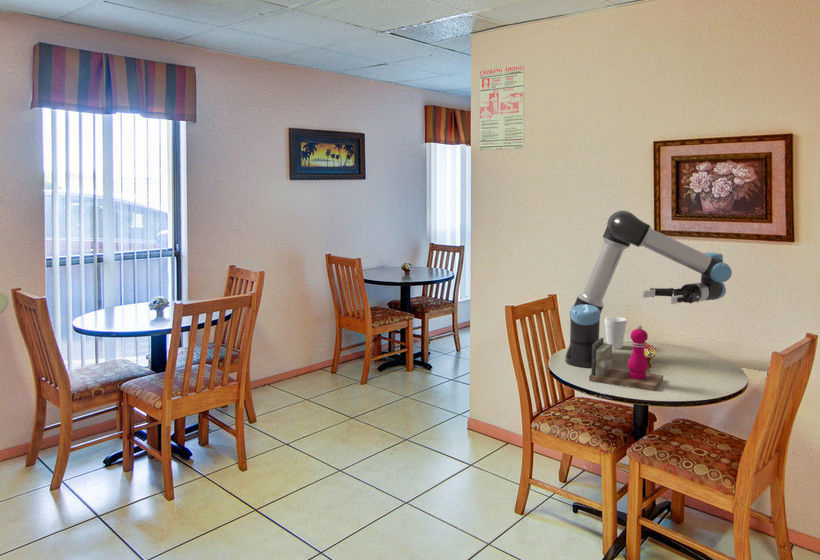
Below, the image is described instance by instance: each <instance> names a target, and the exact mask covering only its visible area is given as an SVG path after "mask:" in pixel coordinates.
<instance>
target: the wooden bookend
mask: <svg viewBox="0 0 820 560" xmlns="http://www.w3.org/2000/svg"><path fill="white" fill-rule="evenodd" d="M604 340H605V338H604V337H599V340H598V341H596V342H595V343H594V344H593V345H592V367H591V371H590V374H589V377H588V378H589V379H588V381H590V382H594V383H595V382H596V383H600V384H608V385H613V384H615V385H614V386H620V385H622V386H621V387H626V386H629V387H628V388H633V387H634V388H633V389H639V388H640V389H639V390H646V391H647V390H648V391H652V392H654V391H655V392H656V391H657V389H658V388H659V387H660V386H661V384H662V382H664V375H663V374H657V373H651V372H650V373H649V372H646V378H645V379H632V378H630V377H629V376H628V375H629V371H630V370H629V369H621V368H614V367H612V366H613V365H612V363H613V359H612V357H613V349H612V344H607V342H606V343H604V342H605V341H604Z"/></svg>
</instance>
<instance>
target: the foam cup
mask: <svg viewBox="0 0 820 560" xmlns="http://www.w3.org/2000/svg"><path fill="white" fill-rule="evenodd" d="M627 325H628V320H627V318H626V317H620V316H619V317H618V316H608V317H605V318H604V327H605V337H606V338H605V339H606V344H612V350H621V349H622V348H623V345H624V339H625V333H626V328H627Z"/></svg>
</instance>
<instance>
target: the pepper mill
mask: <svg viewBox="0 0 820 560" xmlns="http://www.w3.org/2000/svg"><path fill="white" fill-rule="evenodd" d="M648 336H649V335H648V332H647V331H646V330H644V329H643V327H642V325H640V324H639V325H637V326H636V328H635V329H633V330H632V331H631V332H630V339H631V340H632V341H631V346H632V352H631V354H630V357H629V359H628V361H627V368H628V370H630V371H629V375H628V376H629V377H630V378H632V379H645V378H646V373H647V372H646V371H647V370H648V368H649V364H648V360H647V358H646V355H645V348H646V345H647V342H646V341H647V340H648Z"/></svg>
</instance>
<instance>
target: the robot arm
mask: <svg viewBox="0 0 820 560" xmlns="http://www.w3.org/2000/svg"><path fill="white" fill-rule="evenodd" d="M606 224H607V225H606V227H605V231H603V232H604V233H603V236H602V240H603V245H602V247H601V249H600V252H599V254H598V256H597V259H596V261H595V263H594V266H593V268H592V270H591V273H590V276H589V277H588V280H587V282H586V285H585V288H584V290H583V292H582V293H581V294H579V295H577V297H576V300H575V302H574V304H573V305H572V307H571V309H570V311H569V319H570V320H569V321H570V324H569V325H570V327H569V329H570V330H569V333H570V334H569V335H570V337H569V345H568V348H567V351H566V354H565V361H564V362H566V364H568V365H571V366H573V365H574V367H580V368H581V367H582V368H592V345H593V344H594V343H595V342H596V341H598V340H599V339H600V324H601V323H600V322H601V320H600V319H601V314H602V311H603V309H604V306H605V305H604V303H603V299H604V297H605V295H606V292H607V290H608V287H609V286H610V283H611V281H612V279H613V277H614V274H615V271H616V270H617V267H618V264H619V262H620V260H621V258H622V255H623V253H624V250H626V249H628V248H630V246H631V245H633V246H636V247H638V248H640V247H644V248H646V249H648V250H650V251H652V252H655V253H656V254H658V255H661V256H663V257H665V258H666V259H669V260H671V261H673V262H675V263H677V264H679V265H681V266H683V267H686V268H688V269H690V270H693V271H695V272H697V273H699V274H701V275H700V282H694V283H686V284H684V285H682V286H681V287H680V288H679V287H678V288H673V287H669V288H666V287H664V288H662V287H661V288H660V287H659V288H658V287H657V288H656V287H655V288H653V287H651V288H650V289H649V290H648V289H646V290H642V292H641V298H642V299H643V298H644V299H645V298H655V297H658V296H659V297H669V304H670V305H673V304H674V305H675V304H681V303H684V304H685V303H688V304H693V303H700V302H703V301H715V300H719V299H722V298H724V296H725V295H726V292H727V288H726V285H725V284H724V283H725V282H727V281H729V280H730V279H731V277H732V275H733V274H732V272H733V271H732V269H731V266H729V264H727V263H725V262H724V257H723V254H722V253H718V252H705V253H704V252H702V251H699V250H697V249H695V248H693V247H691V246H689V245H687V244H684V243H683V242H681V241H678V240H676V239H675V238H674V239H673V237H670V236H668V235H665V234H664V233H661V232H659V231H657V230H655V229H653V228H652V227H651V225H650V224H648V223H646V222H644V221H642V219H640V218H638V217H637V216H636V215H634V213H631V212H630V211H627V210H618V211H616V212H613V214H611V215H610V216H609V218H608V219H607V223H606Z"/></svg>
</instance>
